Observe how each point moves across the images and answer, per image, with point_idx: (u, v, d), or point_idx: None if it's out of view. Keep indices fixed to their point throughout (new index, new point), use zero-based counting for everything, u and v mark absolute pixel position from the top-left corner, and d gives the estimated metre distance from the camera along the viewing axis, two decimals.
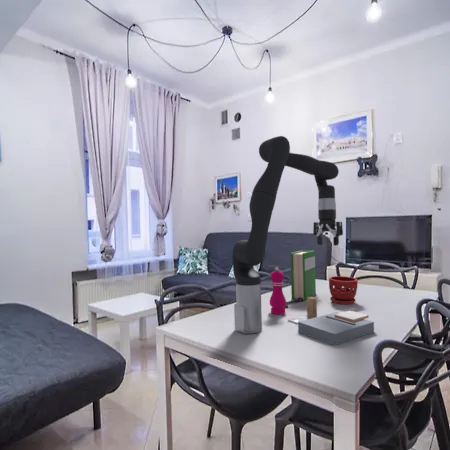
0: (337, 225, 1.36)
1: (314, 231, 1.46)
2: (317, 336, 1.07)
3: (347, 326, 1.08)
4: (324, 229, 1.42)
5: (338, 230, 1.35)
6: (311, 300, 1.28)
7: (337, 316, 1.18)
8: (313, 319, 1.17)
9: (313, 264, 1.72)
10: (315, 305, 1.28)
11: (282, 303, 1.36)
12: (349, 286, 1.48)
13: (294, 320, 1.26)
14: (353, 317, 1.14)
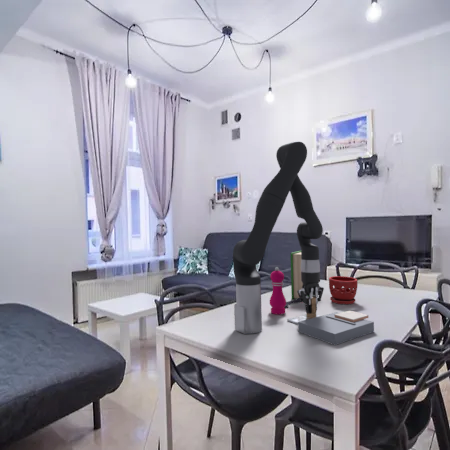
0: (322, 291, 1.31)
1: (305, 300, 1.26)
2: (317, 336, 1.07)
3: (347, 326, 1.08)
4: (313, 292, 1.29)
5: (320, 296, 1.31)
6: None
7: (337, 316, 1.18)
8: (313, 319, 1.17)
9: None
10: (314, 305, 1.28)
11: (282, 303, 1.36)
12: (349, 286, 1.48)
13: (293, 320, 1.26)
14: (353, 317, 1.14)
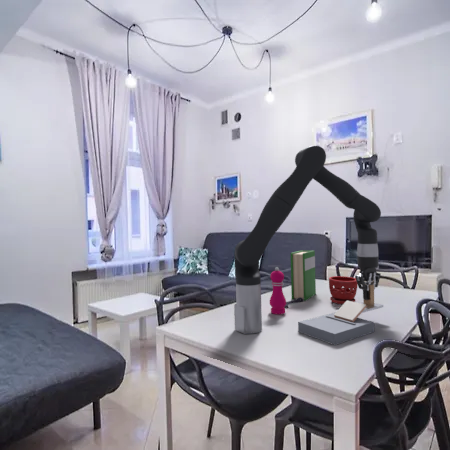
0: (379, 277, 1.26)
1: (364, 285, 1.21)
2: (317, 336, 1.07)
3: (347, 326, 1.08)
4: (371, 277, 1.23)
5: (377, 282, 1.25)
6: (369, 287, 1.22)
7: (337, 316, 1.18)
8: (313, 319, 1.17)
9: (313, 264, 1.72)
10: (373, 292, 1.23)
11: (282, 303, 1.36)
12: (349, 286, 1.48)
13: None
14: (352, 315, 1.14)
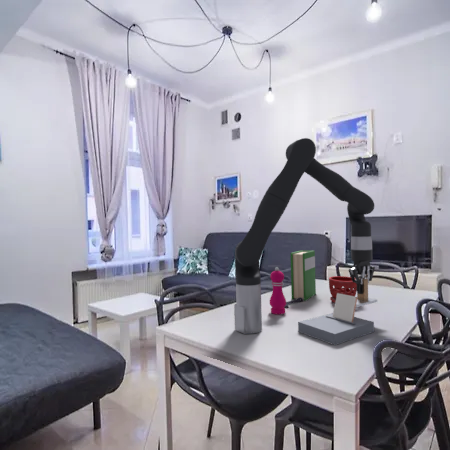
0: (373, 270, 1.24)
1: (358, 279, 1.19)
2: (317, 336, 1.07)
3: (347, 326, 1.08)
4: None
5: (371, 276, 1.23)
6: None
7: (336, 317, 1.17)
8: (313, 319, 1.17)
9: (313, 264, 1.72)
10: (366, 286, 1.21)
11: (282, 303, 1.36)
12: (349, 286, 1.48)
13: None
14: (348, 315, 1.13)
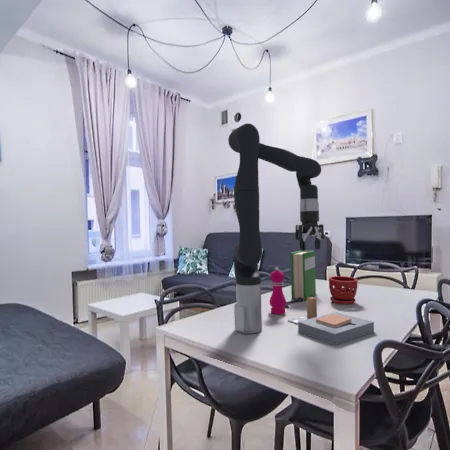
0: (322, 228, 1.32)
1: (300, 235, 1.25)
2: (317, 336, 1.07)
3: (347, 326, 1.08)
4: (310, 232, 1.28)
5: (323, 233, 1.32)
6: (311, 300, 1.28)
7: None
8: (313, 319, 1.17)
9: (313, 264, 1.72)
10: (315, 305, 1.28)
11: (282, 303, 1.36)
12: (349, 286, 1.48)
13: (294, 320, 1.25)
14: None
